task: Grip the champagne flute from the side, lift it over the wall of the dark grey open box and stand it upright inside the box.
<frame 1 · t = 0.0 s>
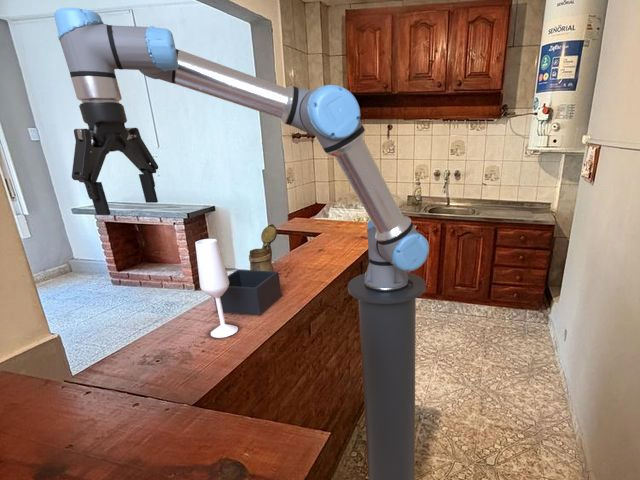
hand: (129, 208, 88), 33 cm above the worktop, tool pointing down, fingers open, 13 cm apart
dark grey open box: (250, 303, 118), on the worktop
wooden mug: (268, 280, 136), on the worktop
champagne flute: (224, 331, 103), on the worktop
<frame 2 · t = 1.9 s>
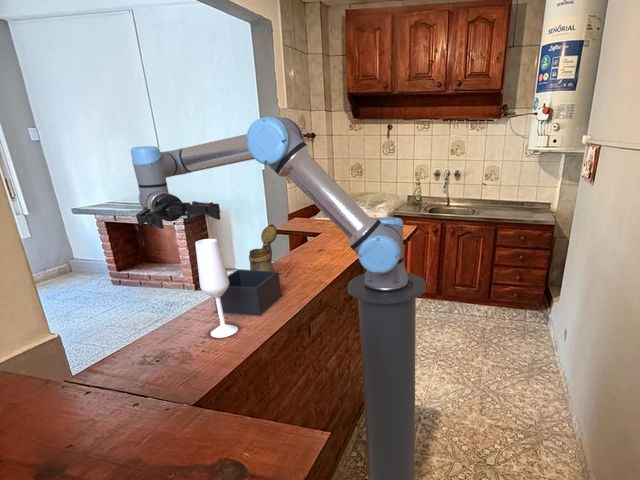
hand: (190, 218, 98), 28 cm above the worktop, tool horizontal, fingers open, 13 cm apart
nothing on the worktop moved.
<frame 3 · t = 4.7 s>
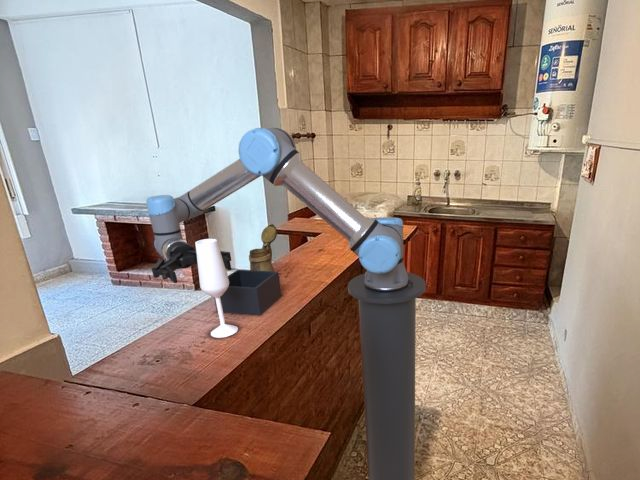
hand: (203, 271, 102), 15 cm above the worktop, tool horizontal, fingers open, 13 cm apart
nothing on the worktop moved.
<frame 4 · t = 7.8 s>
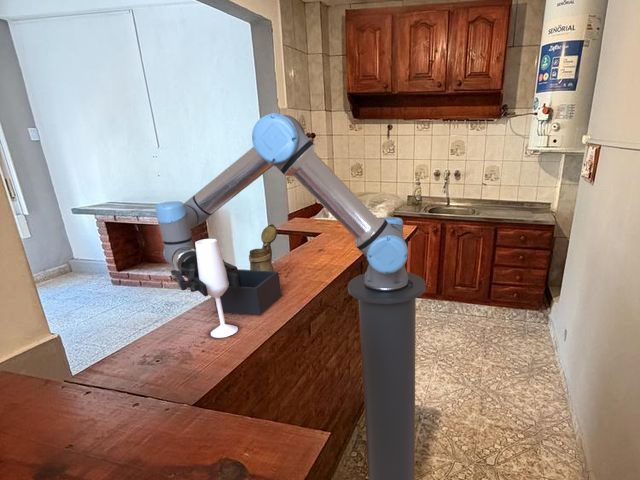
hand: (221, 286, 94), 14 cm above the worktop, tool horizontal, fingers closed on champagne flute, 7 cm apart
champagne flute: (224, 331, 103), on the worktop, touching gripper
everything else where it was.
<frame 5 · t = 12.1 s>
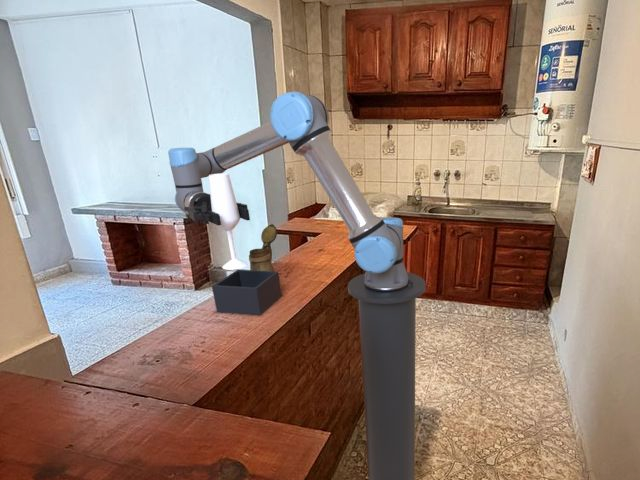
hand: (233, 217, 99), 28 cm above the worktop, tool horizontal, fingers closed on champagne flute, 7 cm apart
champagne flute: (235, 266, 108), point 14 cm above the worktop, touching gripper
everything else where it was.
when the fingers open (15 cm above the worktop, at t = 16.7 s): champagne flute stays where it is, resting on dark grey open box.
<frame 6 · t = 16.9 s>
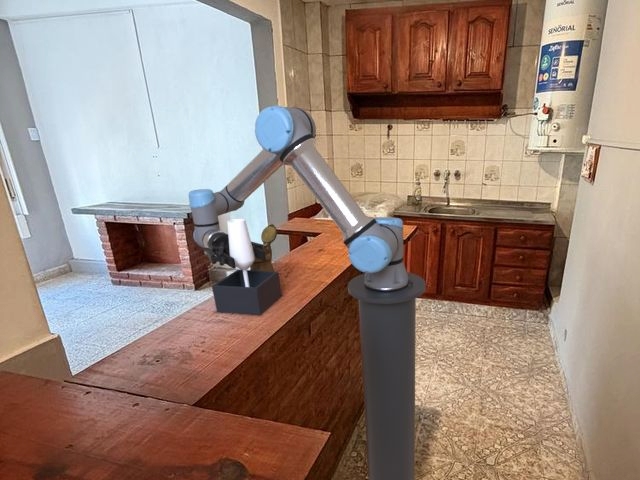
hand: (249, 259, 109), 15 cm above the worktop, tool horizontal, fingers open, 8 cm apart
champagne flute: (249, 300, 118), point 1 cm above the worktop, touching dark grey open box
everything else where it was.
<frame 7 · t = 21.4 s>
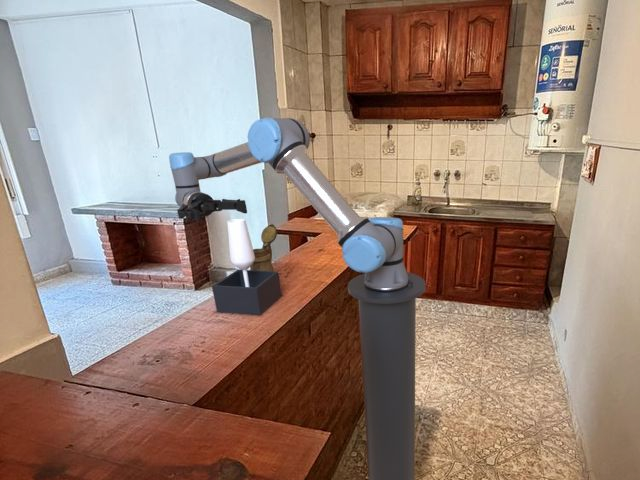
hand: (222, 212, 115), 26 cm above the worktop, tool horizontal, fingers open, 13 cm apart
nothing on the worktop moved.
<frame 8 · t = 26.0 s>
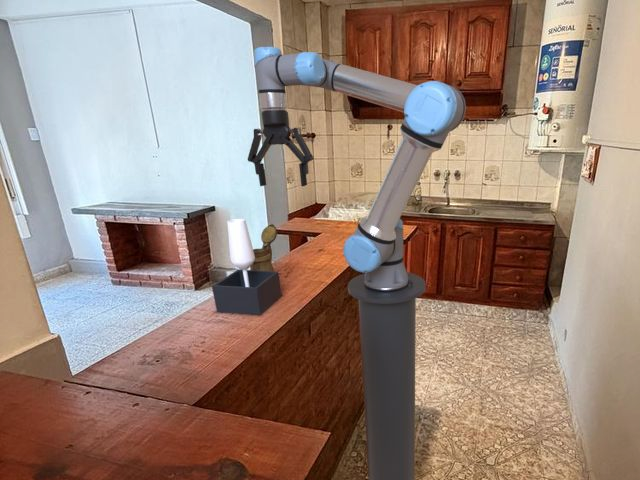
hand: (283, 185, 122), 32 cm above the worktop, tool pointing down, fingers open, 13 cm apart
nothing on the worktop moved.
at the end: champagne flute inside the target area in the dark grey open box (0.1 cm from its centre), point 0.8 cm above the dark grey open box's base; champagne flute tilted 0°; the gripper is holding nothing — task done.
